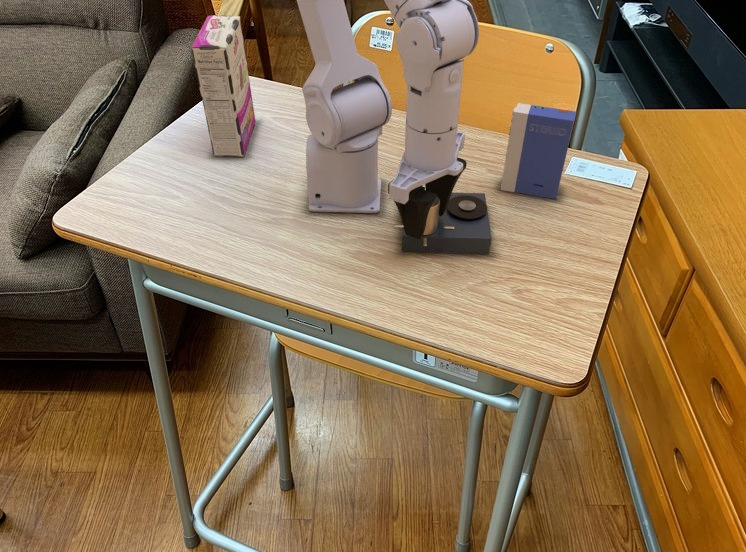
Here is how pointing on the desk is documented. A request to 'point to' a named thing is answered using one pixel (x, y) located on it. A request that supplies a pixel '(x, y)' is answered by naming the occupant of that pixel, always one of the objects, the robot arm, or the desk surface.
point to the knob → (432, 218)
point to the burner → (466, 208)
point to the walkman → (537, 149)
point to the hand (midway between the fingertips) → (424, 224)
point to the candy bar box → (224, 85)
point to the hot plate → (453, 235)
